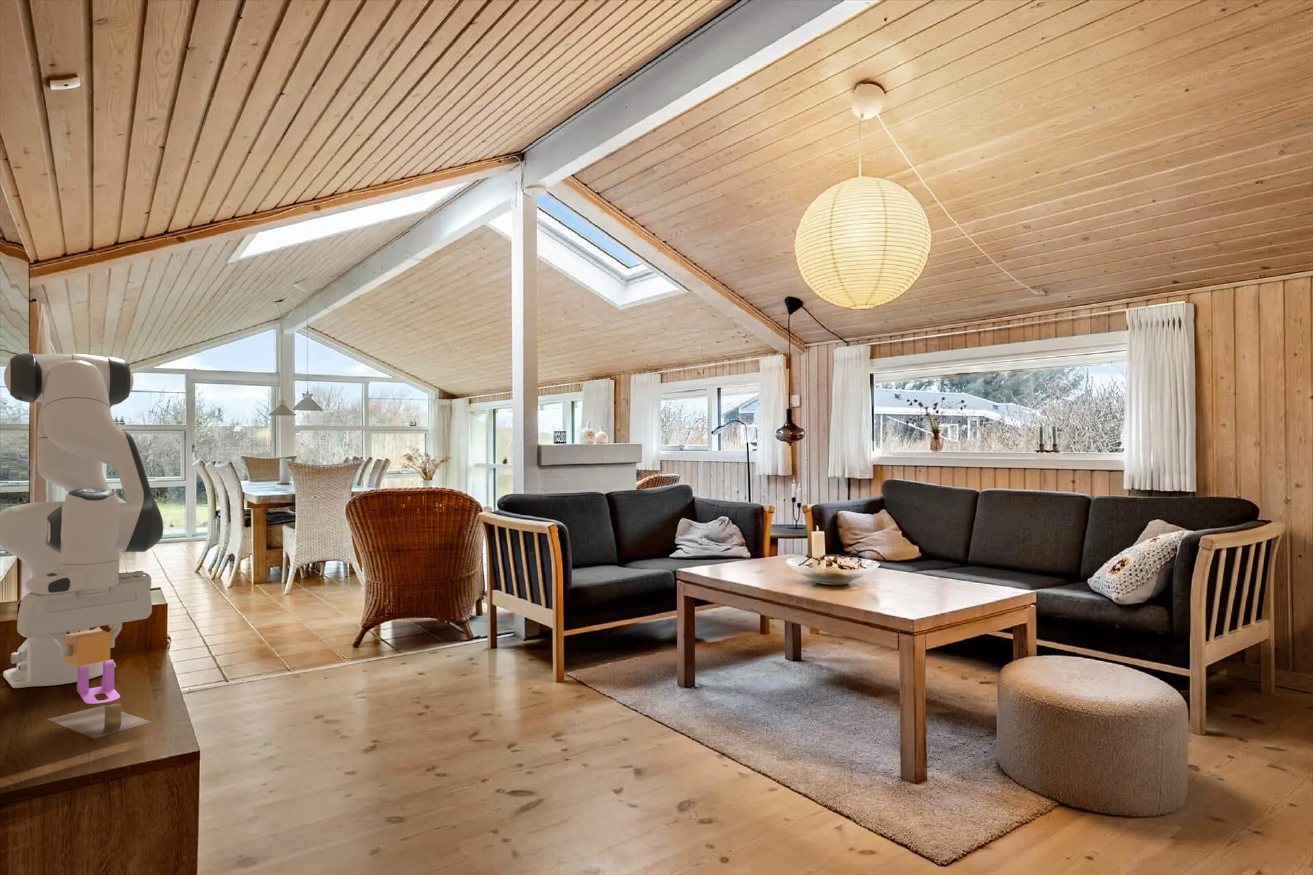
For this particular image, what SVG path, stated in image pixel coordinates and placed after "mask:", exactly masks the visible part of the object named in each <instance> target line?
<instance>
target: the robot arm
mask: <svg viewBox="0 0 1313 875" xmlns="http://www.w3.org/2000/svg"><path fill="white" fill-rule="evenodd" d="M3 381H4V385H5V387H6V389H7V391H8V392H9V395H10V396H11V397H12V398H14V400H16V401H21V402H24V403H29V404H34V403H41V406H40V409H39V415H38V422H37V429H36V432H37V433H36V445H37V446H36V448H37V449H36V450H37V451H36V452H37V453H36V455H37V456H36V457H37V459H36V462H37V465H36V467H37V468H36V469H37V471H38V475H40V477H41V478H42V479H43V480H44V481H47V482H48V483H51V484H53V485H56V486H59V487H60V488H63V489H64V490H66V492H67V493H66V494H65V498H64V500H62V501H61V500H60V501H38V502H29V503H23V504H17V505H13V506H9V507H6V508H5V509H3V510H2V511H1V512H0V547H1V548H2V550H4V551H5V552H8V553H9V554H11V555H13V556H15V557H16V558H18V559H19V561H21V562H22V563H24V565H25V566H26V567H27V569H28V570H29V572H30V573H31V576H32V577H31V578H29V579H27V580H26V581H25V590H26V591H28V592H29V593H27V594H26V595H24V596H23V598H22V599H21V602H20V603H19V604H20V605H19V608H18V612H17V613H18V615H17V620H16V622H17V623H16V630H17V633H18V634H20V636H22V637H24V638H26V640H24V641H23V643H22V644H21V645H20V646H19V647H18V649H17V652H16V651H14V652H12V653H11V654H10V663H11V664H16V667H12V668H9V669H7V670H3V673H2V676H3V678H4V680H6V681H7V682H8V684H9V685H10V686H11V687H12V688H13V689H20V688H21V689H22V688H29V687H45V686H46V687H47V686H48V687H49V686H58V685H65V684H72V683H77V672H78V667H77V666H74V665H71V664H68V663H65V662H64V657H67V656H72V655H73V652H72V651H73V646H70V645H67V644H66V643H65V638H66V635H67V634H71V633H77V632H83V631H89V630H95V629H99V630H102V628H101V627H103V626H108V628H109V629H110V630H109V632H110V633H111V648H110V649H112V648H115V642H116V638H117V637H118V636H119V634H120V633H121V631H122V629H123V623H126V622H127V623H128V622H133V621H139V620H144V619H145V620H146V619H148V618H149V617H150V615H151V614H152V612H153V605H152V596H151V591H150V590H151V588H152V577H151V575H150V574H148V573H147V572H144V571H143V570H138V571H137V570H136V571H132V572H130V571H129V572H120V559H121V558H120V553H119V552H125V553H145V552H147V551H149V550H150V549H152V548H153V547H154V546H155V545H157V543H159V542H160V540H161V539H162V538H163V533H164V527H165V526H164V525H165V524H164V519H163V516H162V514H161V511H160V509H159V506H158V504H157V502H156V500H155V497H154V495H153V492H152V489H151V485H150V483H149V479H148V476H147V473H146V471H145V467H144V464H143V461H142V457H141V455H140V452H139V449H138V447H137V444H136V442H135V440H134V438H133V436H132V435H131V433H128V432H127V431H124V430H122V429H121V428H120V426H118V424H117V422H115V420H114V419H113V416H112V413H111V412H112V411H111V408H112V407H113V406H116V405H119V404H121V403H123V402H124V401H125V400H127V399H128V398H129V396H130V394H131V392H132V390H133V387H134V375H133V372H132V370H131V367H130V365H129V363H128V362H127V361H126V360H124V359H122V358H117V357H113V356H107V357H105V356H99V355H93V354H83V353H74V352H73V353H39V354H38V353H37V354H34V352H27V353H19V354H18V353H17V354H15V355H14V356H12V357H11V358H10V359H9V362H8V363H7V365H6V366H5V369H4V373H3ZM102 463H103V464H106V465H107V466H109V467H111V468H112V469H114V470H115V471H116V472H117V475H118V478H119V480H120V483H121V487H122V490H123V493H124V497H125V500H126V501H125V500H124V499H122V498H121V497H119V495H117V493H116V491H113V490H112V489H111V487H110V486H109V485H108V483H107V481H106V478H105V477H104V473H103V469H102ZM103 662H104V661H102V662H98V663H93V664H88V666H89V680H90V679H94V678H97V677H100V676H103ZM115 668H116V662H114V669H115Z"/></svg>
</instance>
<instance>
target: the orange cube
mask: <svg viewBox="0 0 1313 875" xmlns="http://www.w3.org/2000/svg"><path fill="white" fill-rule="evenodd" d="M65 643H66V644H67V645H70V646H73V651H72V652H73V655H72V656H67V657H64V662H65V663H68V664H71V665H74V666H77V667H78V666H83V665H88V664H93V663H98V662H102V661H107V660H111V649H112V648H111V633H110V631H106V630H103V629H101V630H99V629H95V630H89V631H83V632H77V633H71V634H67V635H66V638H65Z"/></svg>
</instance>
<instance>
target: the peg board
mask: <svg viewBox="0 0 1313 875" xmlns="http://www.w3.org/2000/svg"><path fill="white" fill-rule="evenodd" d="M122 705H123V704H122V703H113V704H111V703H110V704H108V705H99V706H96V707H92V708H91V707H90V708H88V709H84V710H79V711H75V712H71V713H67V714H63V715H60V716H55V717H51V718H48V719H46V720H47V721H50V722H51V723H55V724H57V725H59V726H62V727H65V728H66V729H69V730H71V731H74V732H76V733H79V734H82V735H84V736H87V737H89V738H91V739H98V738H101V737H105V736H109V735H112V734H116V733H120V732H123V731H127V730H130V729H133V728H138V727H141V726H144V725H147V724H152V723H153V722H152V721H150V720H147V719H144V718H141V717H139V716H137V715H136V716H135V715H133V714H130V713H128V712H126V711H125V712H124V711H123V710H122V709H123V708H122V707H123V706H122Z"/></svg>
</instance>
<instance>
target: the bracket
mask: <svg viewBox="0 0 1313 875" xmlns="http://www.w3.org/2000/svg"><path fill="white" fill-rule="evenodd" d="M101 682H102V683H101V686H96V687H90V679H89V666H88V665H83V666H78V672H77V682H76V692H77V693H78V694H79V695H80V697H81V699H82V700H83V702H84V703H85V704H88V705H93V704H94V705H97V704H103V703H111V702H113V701H116V700H118V699H120V698H121V695H120V694H119V692H118V691H116V689H115V668H114V659H110V660H107V661H104V662H103V674H102V681H101ZM100 694H102V695H103V694H105V695H106V697H107V698H106V699H101V700H99V699H97V698H96V697H95V696H96V695H100Z"/></svg>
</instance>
